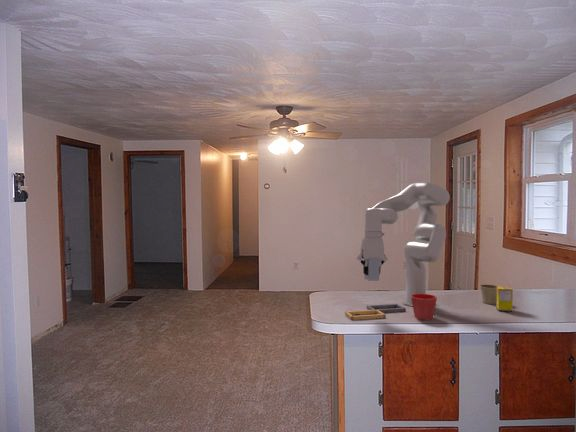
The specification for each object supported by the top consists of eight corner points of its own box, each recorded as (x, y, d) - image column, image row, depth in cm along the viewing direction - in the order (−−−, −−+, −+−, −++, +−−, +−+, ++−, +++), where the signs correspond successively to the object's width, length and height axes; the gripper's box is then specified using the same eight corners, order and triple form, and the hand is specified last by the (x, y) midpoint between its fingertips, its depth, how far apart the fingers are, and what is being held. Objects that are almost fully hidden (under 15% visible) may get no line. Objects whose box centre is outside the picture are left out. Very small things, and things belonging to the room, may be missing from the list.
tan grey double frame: (397, 306, 196) (397, 303, 196) (414, 316, 180) (414, 312, 180) (339, 310, 190) (339, 307, 190) (351, 320, 174) (351, 316, 174)
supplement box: (509, 309, 191) (510, 286, 191) (512, 312, 186) (512, 289, 185) (496, 308, 193) (496, 286, 193) (498, 311, 188) (498, 288, 187)
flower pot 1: (407, 314, 183) (407, 293, 182) (430, 314, 183) (430, 293, 183) (416, 321, 172) (416, 299, 172) (440, 320, 173) (441, 298, 173)
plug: (374, 278, 185) (375, 255, 185) (379, 280, 181) (379, 256, 180) (364, 278, 184) (365, 255, 184) (368, 280, 180) (369, 256, 179)
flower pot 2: (479, 304, 201) (480, 287, 201) (478, 300, 210) (478, 283, 210) (500, 306, 198) (501, 288, 197) (498, 301, 206) (498, 285, 206)
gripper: (386, 235, 188) (385, 273, 188) (352, 234, 184) (351, 273, 184) (394, 236, 180) (392, 276, 180) (358, 235, 177) (357, 276, 177)
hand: (371, 274), depth 182 cm, fingers closed on plug, 5 cm apart
